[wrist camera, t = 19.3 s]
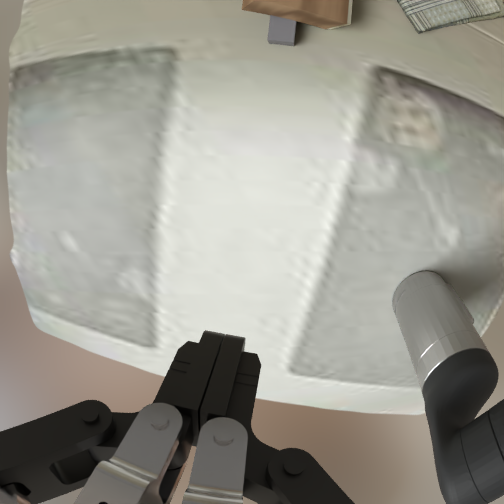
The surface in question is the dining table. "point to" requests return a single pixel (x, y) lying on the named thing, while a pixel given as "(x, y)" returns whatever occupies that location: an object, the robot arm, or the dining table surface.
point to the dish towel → (449, 12)
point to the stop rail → (281, 31)
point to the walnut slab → (305, 11)
